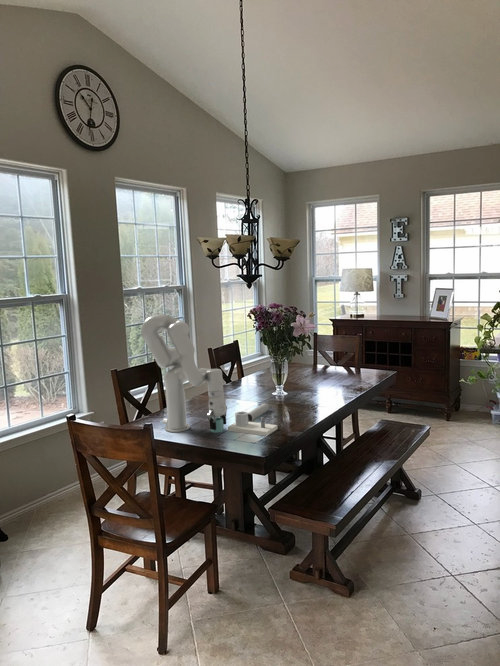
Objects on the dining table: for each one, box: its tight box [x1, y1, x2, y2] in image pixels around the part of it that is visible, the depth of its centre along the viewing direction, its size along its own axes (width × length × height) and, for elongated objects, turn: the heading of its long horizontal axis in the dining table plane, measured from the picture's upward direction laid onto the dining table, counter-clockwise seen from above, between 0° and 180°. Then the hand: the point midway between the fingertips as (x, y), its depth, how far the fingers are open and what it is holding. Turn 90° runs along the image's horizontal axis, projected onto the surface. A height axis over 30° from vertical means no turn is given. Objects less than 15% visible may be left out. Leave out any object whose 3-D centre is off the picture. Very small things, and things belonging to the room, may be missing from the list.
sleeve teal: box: [210, 417, 225, 434], centre depth 274 cm, size 6×6×6 cm
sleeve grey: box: [234, 411, 249, 427], centre depth 276 cm, size 6×6×6 cm
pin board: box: [227, 416, 278, 437], centre depth 273 cm, size 22×12×7 cm, turn 62°
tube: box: [247, 403, 270, 422], centre depth 298 cm, size 5×5×25 cm
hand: (218, 426), depth 274 cm, fingers open, 9 cm apart
